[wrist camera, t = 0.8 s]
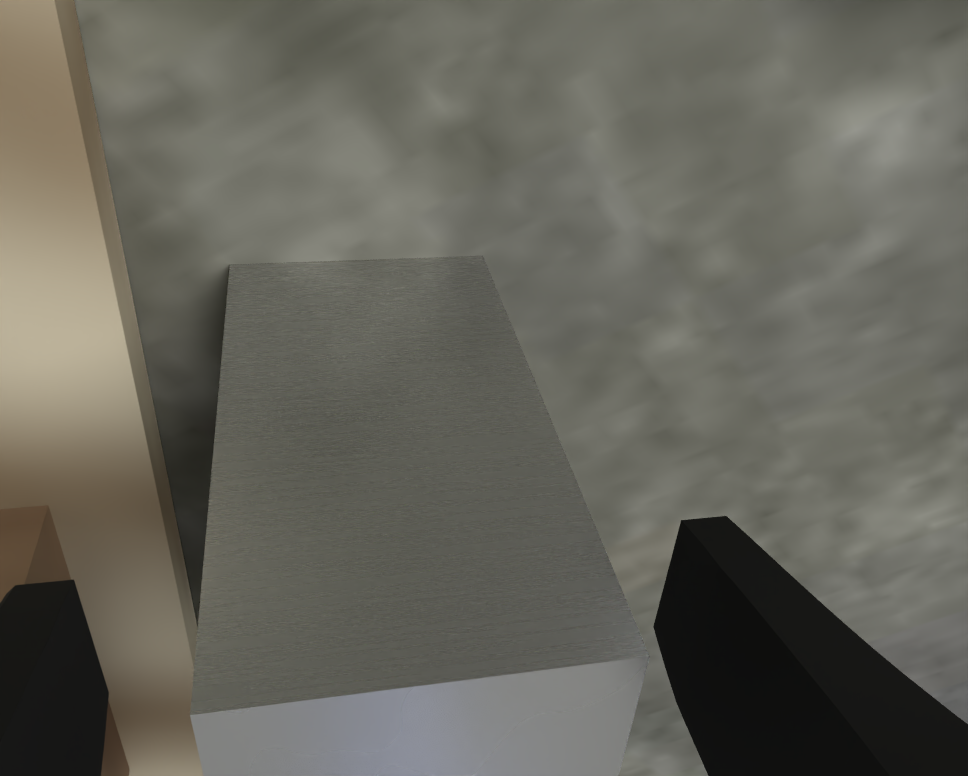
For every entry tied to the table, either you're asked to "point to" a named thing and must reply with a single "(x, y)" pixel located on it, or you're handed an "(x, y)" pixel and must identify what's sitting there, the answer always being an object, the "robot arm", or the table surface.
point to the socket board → (84, 401)
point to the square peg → (399, 541)
